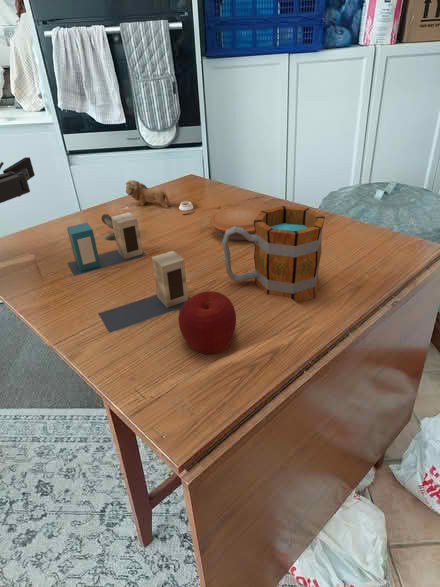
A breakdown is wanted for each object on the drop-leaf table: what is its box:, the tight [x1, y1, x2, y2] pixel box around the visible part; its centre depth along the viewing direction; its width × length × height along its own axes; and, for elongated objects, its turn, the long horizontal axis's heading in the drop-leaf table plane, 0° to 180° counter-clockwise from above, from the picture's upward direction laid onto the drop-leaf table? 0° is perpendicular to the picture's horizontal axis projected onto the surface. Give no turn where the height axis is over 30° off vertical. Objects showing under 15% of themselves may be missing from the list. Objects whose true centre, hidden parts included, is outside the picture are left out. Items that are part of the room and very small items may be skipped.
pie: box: [209, 206, 262, 242], centre depth 111 cm, size 15×16×5 cm
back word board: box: [66, 249, 147, 277], centre depth 100 cm, size 7×17×2 cm, turn 119°
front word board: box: [97, 294, 190, 334], centre depth 82 cm, size 7×17×2 cm, turn 119°
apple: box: [177, 291, 237, 355], centre depth 71 cm, size 10×10×10 cm
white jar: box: [178, 200, 196, 216], centre depth 124 cm, size 5×3×5 cm
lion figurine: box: [125, 179, 173, 209], centre depth 125 cm, size 15×5×9 cm, turn 80°
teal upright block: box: [66, 222, 100, 271], centre depth 95 cm, size 5×4×9 cm
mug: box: [221, 205, 326, 304], centre depth 85 cm, size 20×14×15 cm
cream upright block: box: [151, 250, 189, 308], centre depth 82 cm, size 5×4×9 cm
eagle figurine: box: [101, 213, 116, 241], centre depth 110 cm, size 8×7×9 cm
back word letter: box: [111, 211, 143, 259], centre depth 99 cm, size 5×4×9 cm
